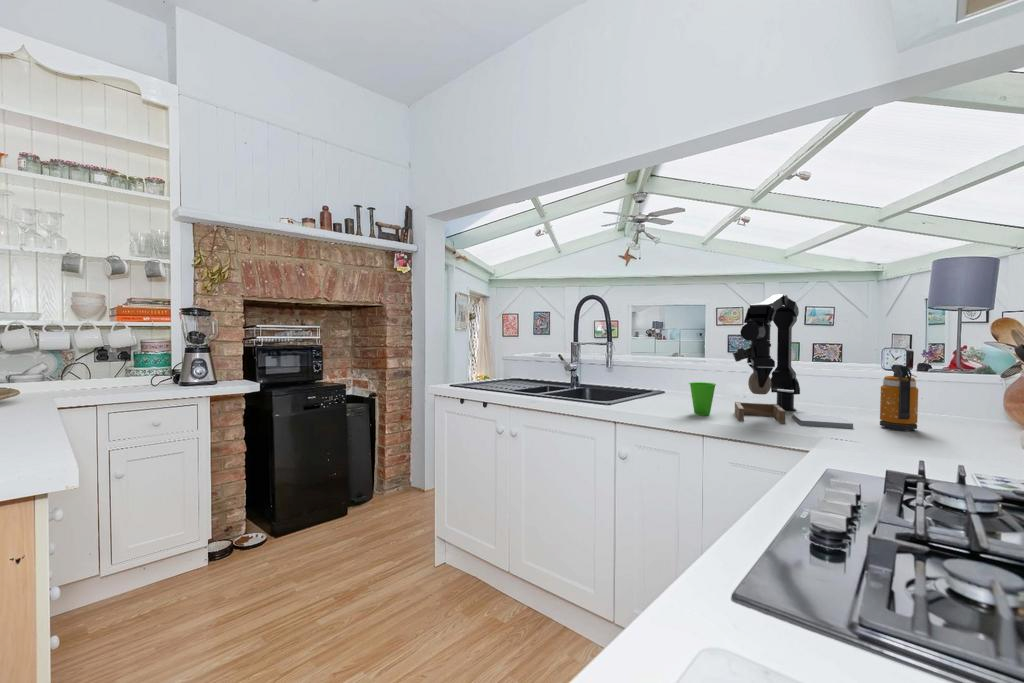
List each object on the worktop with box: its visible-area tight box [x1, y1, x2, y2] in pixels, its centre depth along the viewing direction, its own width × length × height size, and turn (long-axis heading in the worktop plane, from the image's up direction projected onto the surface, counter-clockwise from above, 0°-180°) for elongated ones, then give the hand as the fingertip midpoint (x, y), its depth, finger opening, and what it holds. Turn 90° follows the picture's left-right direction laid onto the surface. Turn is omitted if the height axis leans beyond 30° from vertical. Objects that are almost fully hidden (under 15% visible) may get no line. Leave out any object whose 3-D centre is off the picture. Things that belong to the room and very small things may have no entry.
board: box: [791, 412, 854, 429], centre depth 155 cm, size 14×14×2 cm
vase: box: [747, 371, 771, 395], centre depth 161 cm, size 7×7×9 cm
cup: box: [688, 381, 717, 416], centre depth 169 cm, size 9×9×11 cm
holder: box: [734, 401, 787, 424], centre depth 163 cm, size 15×14×4 cm
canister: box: [879, 364, 919, 432], centre depth 145 cm, size 9×11×20 cm
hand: (759, 386), depth 161 cm, fingers closed on vase, 7 cm apart
